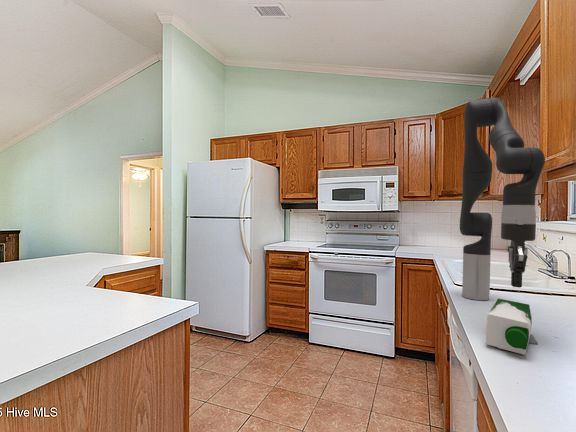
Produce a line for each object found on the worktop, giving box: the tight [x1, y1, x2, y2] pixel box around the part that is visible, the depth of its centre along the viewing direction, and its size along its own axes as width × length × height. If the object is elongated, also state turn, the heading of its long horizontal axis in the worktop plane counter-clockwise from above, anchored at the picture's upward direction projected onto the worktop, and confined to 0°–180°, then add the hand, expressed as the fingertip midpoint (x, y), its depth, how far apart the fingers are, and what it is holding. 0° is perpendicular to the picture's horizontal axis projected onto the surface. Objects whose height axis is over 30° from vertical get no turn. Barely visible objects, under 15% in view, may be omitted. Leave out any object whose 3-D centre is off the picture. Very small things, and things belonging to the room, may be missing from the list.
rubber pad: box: [528, 333, 539, 345], centre depth 84 cm, size 6×6×1 cm
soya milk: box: [485, 297, 533, 356], centre depth 81 cm, size 9×9×20 cm
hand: (516, 286), depth 86 cm, fingers closed
